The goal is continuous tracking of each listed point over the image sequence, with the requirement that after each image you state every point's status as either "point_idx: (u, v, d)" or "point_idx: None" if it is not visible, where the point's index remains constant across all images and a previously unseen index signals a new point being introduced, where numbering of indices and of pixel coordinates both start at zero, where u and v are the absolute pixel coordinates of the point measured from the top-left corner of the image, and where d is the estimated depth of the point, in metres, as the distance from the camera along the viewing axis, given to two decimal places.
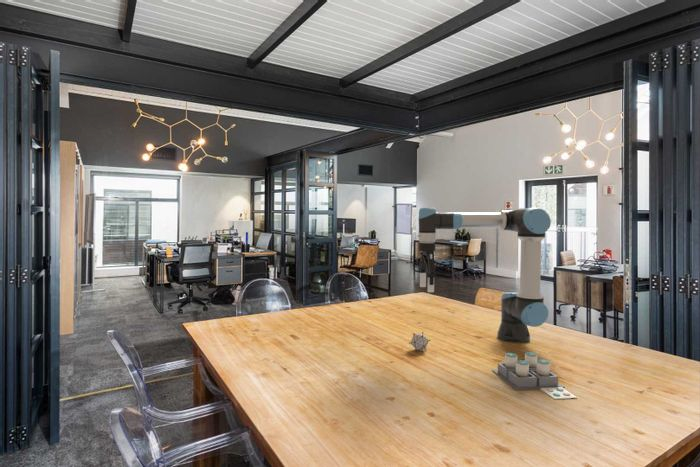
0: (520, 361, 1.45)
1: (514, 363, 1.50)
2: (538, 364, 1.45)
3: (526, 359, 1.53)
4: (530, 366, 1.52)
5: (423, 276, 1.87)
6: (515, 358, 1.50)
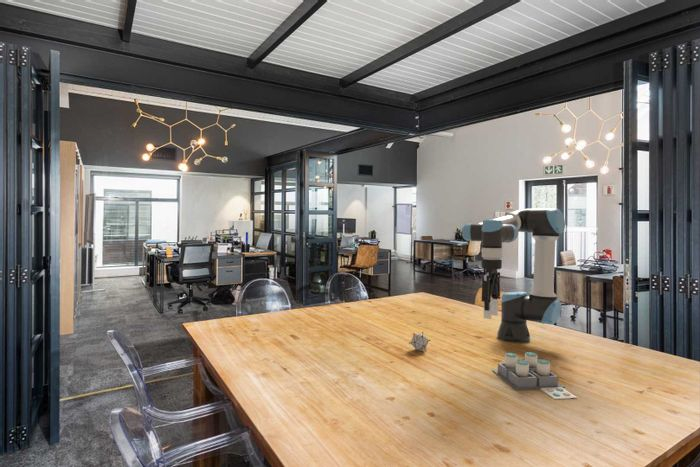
0: (520, 361, 1.45)
1: (514, 363, 1.50)
2: (538, 364, 1.45)
3: (526, 359, 1.53)
4: (530, 366, 1.52)
5: (494, 303, 1.61)
6: (515, 358, 1.50)
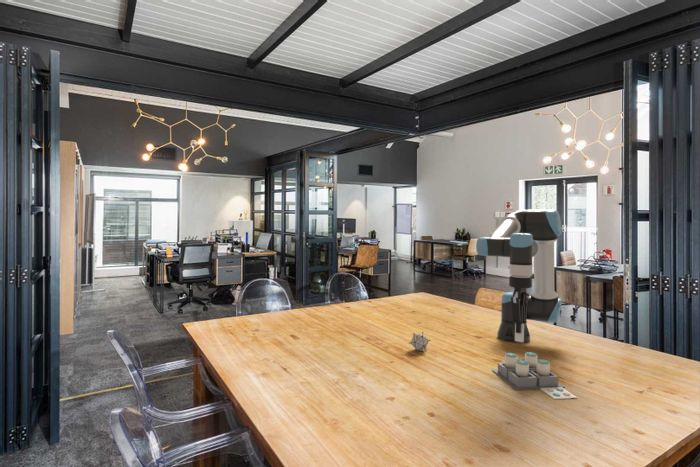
0: (520, 361, 1.45)
1: (514, 363, 1.50)
2: (538, 364, 1.45)
3: (526, 359, 1.53)
4: (530, 366, 1.52)
5: None
6: (515, 358, 1.50)
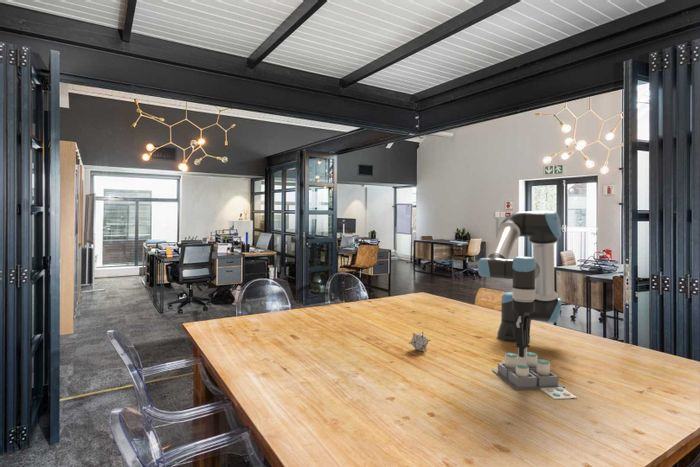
0: (520, 365, 1.45)
1: (514, 363, 1.50)
2: (538, 364, 1.45)
3: None
4: (530, 366, 1.52)
5: None
6: (515, 358, 1.50)
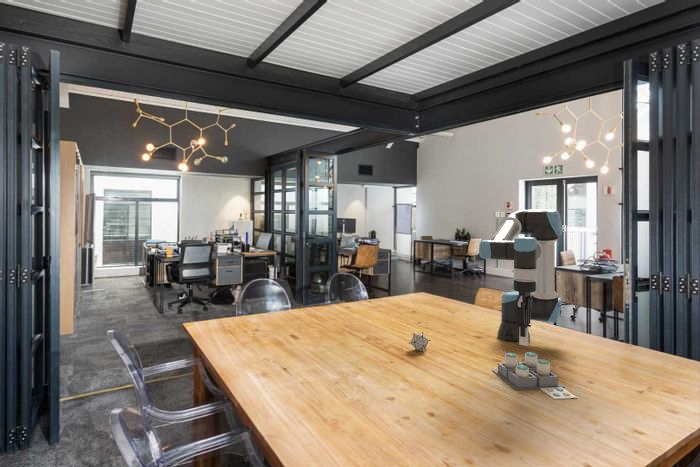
0: (520, 366, 1.45)
1: (514, 363, 1.50)
2: (538, 364, 1.45)
3: (526, 359, 1.53)
4: (530, 366, 1.52)
5: None
6: (515, 358, 1.50)
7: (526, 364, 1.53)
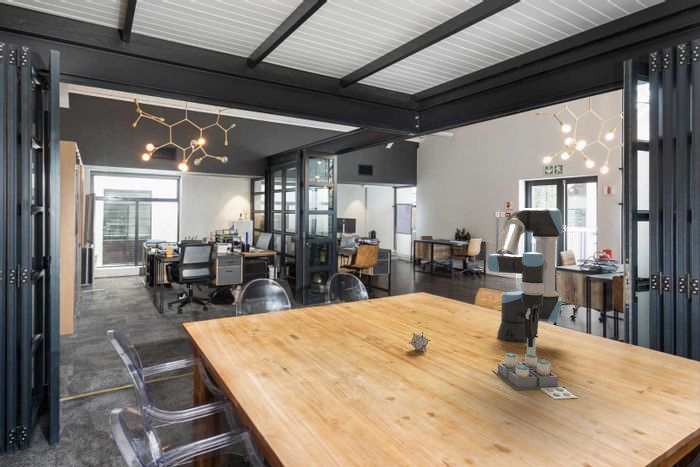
0: (520, 366, 1.45)
1: (514, 363, 1.50)
2: (538, 364, 1.45)
3: (526, 360, 1.53)
4: (530, 367, 1.52)
5: None
6: (515, 358, 1.50)
7: (526, 365, 1.53)
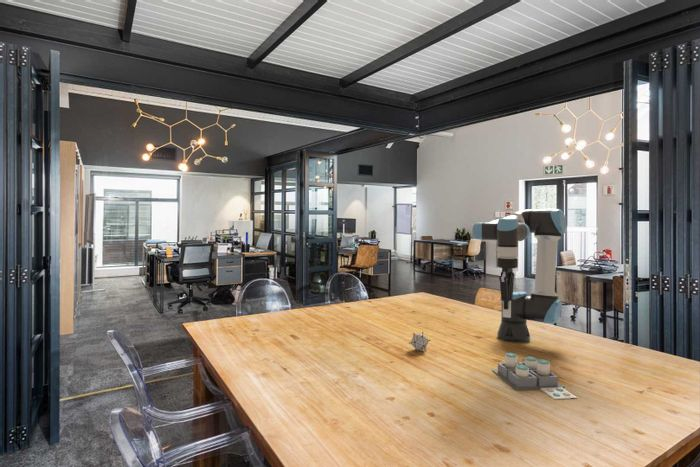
0: (520, 366, 1.45)
1: (514, 363, 1.50)
2: (538, 364, 1.45)
3: (526, 364, 1.53)
4: None
5: None
6: (515, 358, 1.50)
7: None
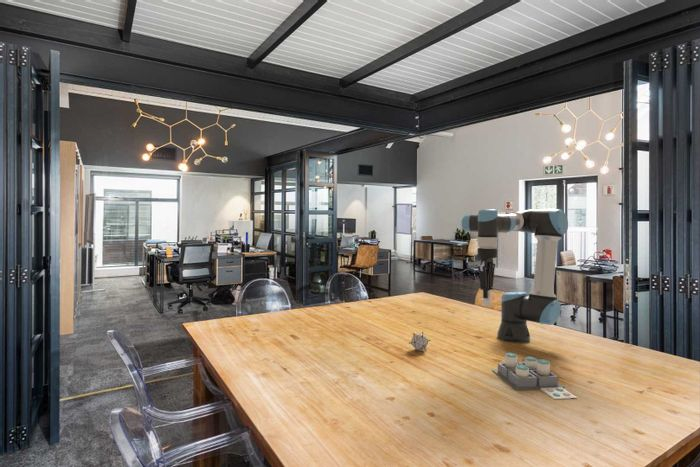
0: (520, 366, 1.45)
1: (514, 363, 1.50)
2: (538, 364, 1.45)
3: (526, 364, 1.53)
4: None
5: None
6: (515, 358, 1.50)
7: None
